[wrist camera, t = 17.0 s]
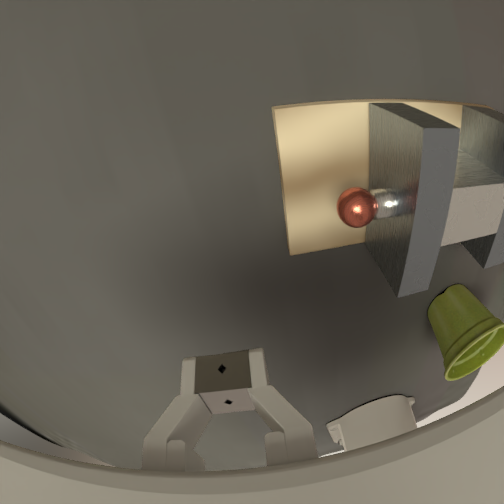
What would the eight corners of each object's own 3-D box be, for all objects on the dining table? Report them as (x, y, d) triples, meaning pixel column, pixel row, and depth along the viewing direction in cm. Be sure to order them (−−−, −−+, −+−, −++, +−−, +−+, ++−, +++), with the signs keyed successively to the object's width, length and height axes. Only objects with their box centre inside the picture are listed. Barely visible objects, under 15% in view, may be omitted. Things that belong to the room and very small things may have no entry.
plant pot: (432, 276, 28) (472, 337, 21) (485, 268, 29) (523, 318, 22) (405, 332, 34) (431, 389, 27) (456, 320, 34) (484, 367, 28)
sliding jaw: (392, 239, 23) (427, 289, 18) (323, 252, 23) (348, 309, 18) (401, 102, 16) (460, 128, 11) (316, 105, 16) (356, 130, 11)
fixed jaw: (471, 221, 23) (509, 260, 18) (445, 226, 23) (483, 269, 18) (489, 108, 16) (543, 134, 11) (462, 104, 16) (519, 131, 12)
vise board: (469, 215, 24) (474, 220, 23) (287, 247, 24) (290, 255, 23) (485, 105, 17) (493, 108, 16) (271, 106, 17) (274, 109, 16)
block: (452, 192, 21) (496, 233, 16) (395, 200, 21) (437, 247, 16) (458, 148, 18) (510, 182, 14) (398, 151, 19) (449, 189, 14)
